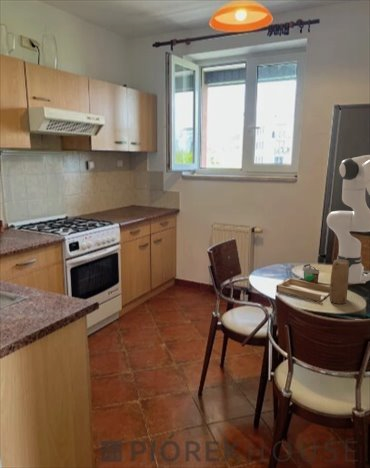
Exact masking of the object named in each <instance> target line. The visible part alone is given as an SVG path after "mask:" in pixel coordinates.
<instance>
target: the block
mask: <svg viewBox="0 0 370 468" xmlns="http://www.w3.org/2000/svg"><path fill="white" fill-rule="evenodd" d="M330 275H331V277H330V281H329V282H330V283H329V284H330V285H329V286H330V295H329V301H330V302H331V303H334V304H339V305H341V304H346V303H347V300H348V299H347V298H348V288H349V283H348V276H349V261H348V260H344V259H337V258H336V259H334V260H333V263H332V266H331V273H330Z"/></svg>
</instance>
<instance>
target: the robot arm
mask: <svg viewBox="0 0 370 468" xmlns="http://www.w3.org/2000/svg"><path fill="white" fill-rule="evenodd" d="M338 172H339V175H340V178H342V186H341V187H342V192H341V201H342V203H343V204H344V205H346V206H348V207H350V208H351V210H334V211H330V212H329V213H328V214H327V217H326V225H327V227H328V228H329V229H330V230H331V231H333V232H334V234H335V235H336V237H337V240H338V253H337V257H336V259H344V260H348V261H349V276H348V284H350V285H351V284H353V285H355V284H366V283H367V282H368V281H370V271H369V272H368V273H367V274H366V273H364V269H365V267H364V264H362V259H363V258H362V257H363V256H362V254H361V253H362V252H361V251H362V242H361V241H360V240H359V239H358V238H357V237H354V236H352V234H351V233H350V232H356V233H357V232H359V233H368V232H370V208H369V207H368V205H367V204H368V203H367V201H366V200H367V199H366V193H368V195H369V196H370V154H366V155H361V156H356V157H352V158H350V157H349V158H346V159H343V160H341V162H340V163H339V167H338ZM366 191H367V192H366ZM330 276H331V274H330ZM330 276H329V277H330Z"/></svg>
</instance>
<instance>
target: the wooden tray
mask: <svg viewBox="0 0 370 468" xmlns="http://www.w3.org/2000/svg"><path fill="white" fill-rule="evenodd" d="M275 289H276V293H278V294H284V293H285V294H284V295H288V294H290V295H289V296H292V295H294V296H293V297H296V296H298V297H297V298H300V297H302V298H301V299H304V298H306V299H305V300H308V299H310V300H309V301H312V300H314V301H313V302H316V301H318V302H317V303H321V302H322V301H324V300H325V299H326V298H327V297H329V296H330V285H326V284H325V285H324V284H321V283H318V284H316V283H312V282H307V281H304V280H301V279H296V278H291V277H289V278H287V279H285V280H283V281H282V282H280V283H278V284H276V287H275ZM324 298H325V299H324ZM320 301H321V302H320Z"/></svg>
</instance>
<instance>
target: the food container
mask: <svg viewBox="0 0 370 468" xmlns="http://www.w3.org/2000/svg"><path fill="white" fill-rule="evenodd" d="M301 269H302V271H303V281H307V282H312V283H316V284H319V275H320V269H316V268H315V267H314V266H312V265H311V263H305V264H303V266H302V268H301Z"/></svg>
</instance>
